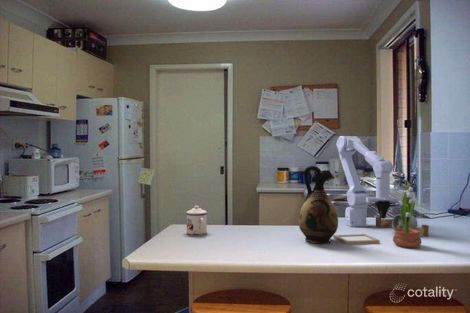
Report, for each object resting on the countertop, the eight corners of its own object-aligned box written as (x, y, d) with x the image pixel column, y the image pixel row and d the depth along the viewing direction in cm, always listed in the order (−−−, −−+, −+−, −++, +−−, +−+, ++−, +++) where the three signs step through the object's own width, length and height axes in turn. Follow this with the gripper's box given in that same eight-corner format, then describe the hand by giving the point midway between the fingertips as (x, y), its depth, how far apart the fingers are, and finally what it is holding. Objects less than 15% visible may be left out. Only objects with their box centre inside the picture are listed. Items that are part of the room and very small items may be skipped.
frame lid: (346, 244, 146) (346, 241, 146) (333, 238, 157) (333, 235, 157) (379, 243, 149) (379, 240, 149) (364, 236, 160) (364, 233, 160)
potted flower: (426, 251, 138) (427, 181, 137) (396, 249, 140) (397, 181, 139) (417, 243, 150) (418, 179, 149) (390, 241, 152) (391, 178, 151)
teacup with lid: (183, 231, 168) (183, 205, 168) (202, 229, 173) (202, 203, 172) (192, 237, 158) (193, 209, 158) (213, 235, 162) (213, 207, 162)
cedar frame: (399, 236, 161) (399, 225, 160) (375, 226, 182) (375, 217, 182) (428, 236, 162) (428, 225, 162) (401, 226, 183) (401, 216, 183)
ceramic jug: (342, 239, 155) (343, 165, 154) (331, 247, 142) (332, 167, 141) (302, 234, 164) (303, 164, 163) (288, 242, 150) (289, 165, 150)
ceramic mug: (419, 232, 169) (419, 214, 169) (404, 233, 167) (404, 215, 167) (401, 228, 179) (401, 211, 179) (387, 229, 177) (387, 212, 177)
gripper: (371, 188, 166) (370, 220, 166) (403, 188, 167) (402, 219, 167) (364, 187, 173) (364, 217, 173) (394, 187, 174) (394, 216, 174)
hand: (382, 218), depth 171 cm, fingers closed
